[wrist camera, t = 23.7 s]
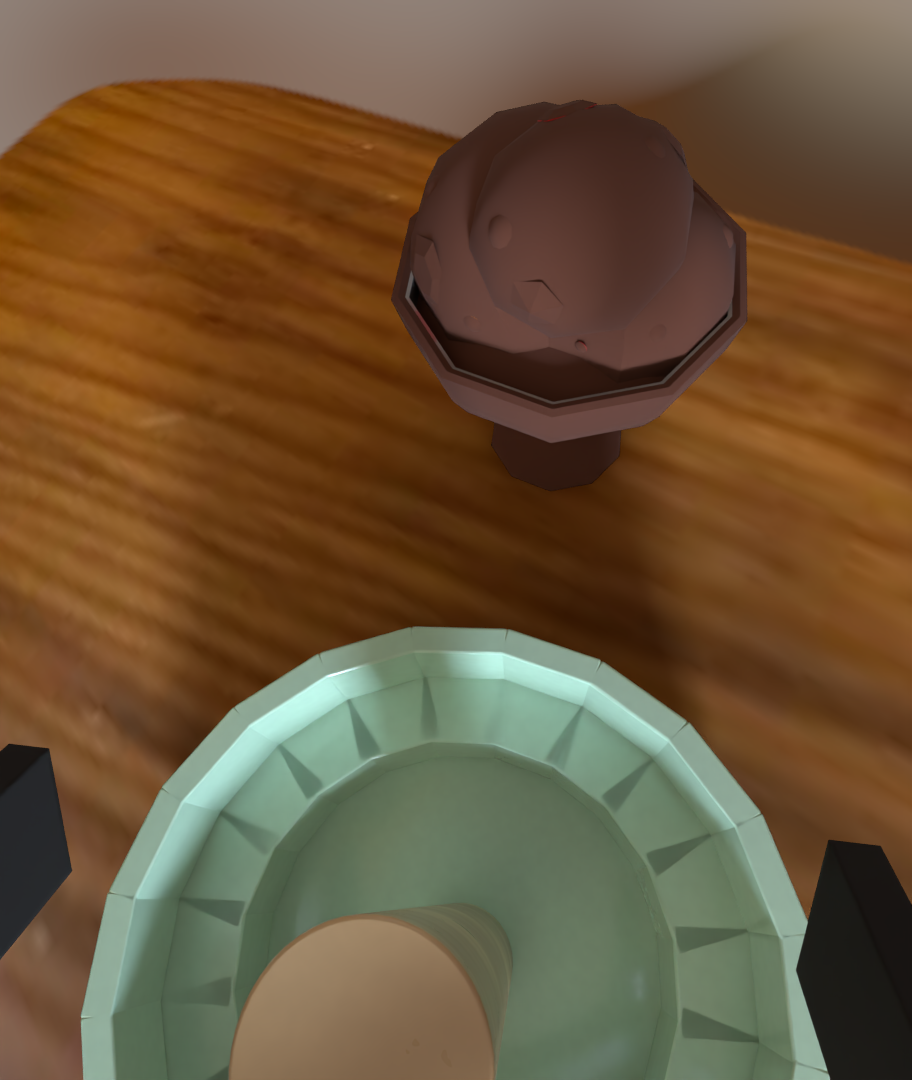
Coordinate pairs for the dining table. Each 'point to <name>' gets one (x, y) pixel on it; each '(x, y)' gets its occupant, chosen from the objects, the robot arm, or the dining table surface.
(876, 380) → the dining table surface
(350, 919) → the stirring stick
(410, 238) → the ice cream bowl
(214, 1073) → the mixing bowl
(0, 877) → the robot arm
